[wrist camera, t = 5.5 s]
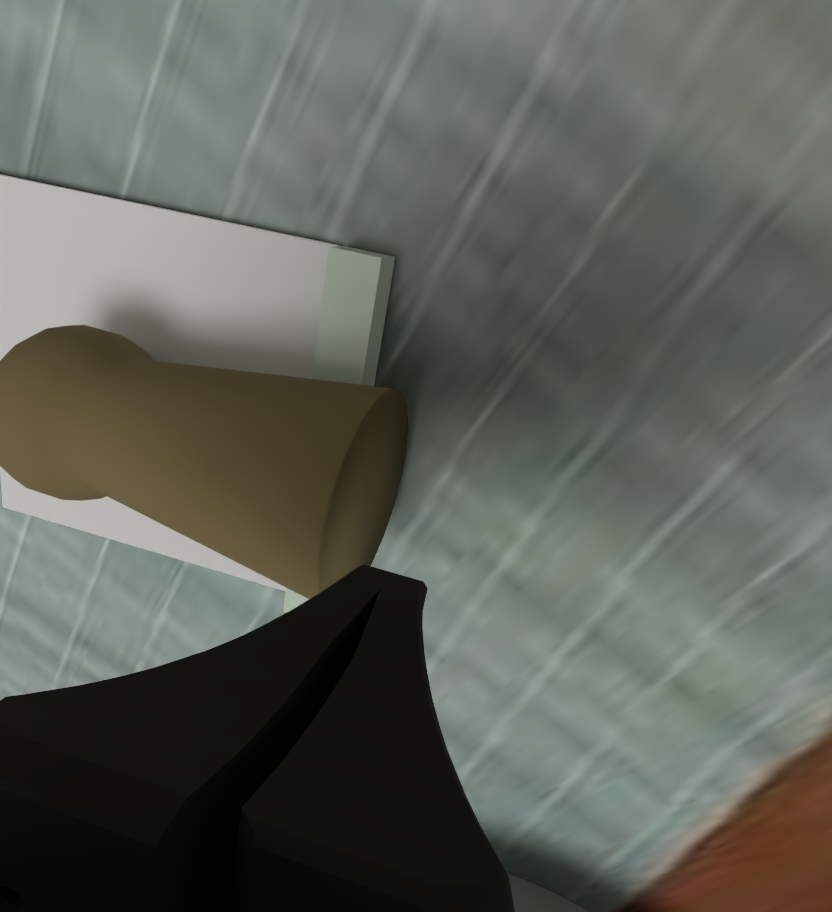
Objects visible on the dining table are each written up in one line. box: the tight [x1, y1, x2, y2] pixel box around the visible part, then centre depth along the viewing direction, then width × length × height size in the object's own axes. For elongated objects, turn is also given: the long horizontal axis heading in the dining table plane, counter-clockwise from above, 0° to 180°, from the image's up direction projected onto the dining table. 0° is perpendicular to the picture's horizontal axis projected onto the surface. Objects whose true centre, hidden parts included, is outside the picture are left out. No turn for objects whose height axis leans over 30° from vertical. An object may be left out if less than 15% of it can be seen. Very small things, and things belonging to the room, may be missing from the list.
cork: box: [0, 325, 408, 599], centre depth 18 cm, size 6×6×11 cm
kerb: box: [283, 247, 395, 612], centre depth 20 cm, size 2×12×2 cm, turn 169°
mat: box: [0, 174, 342, 591], centre depth 21 cm, size 12×12×1 cm
